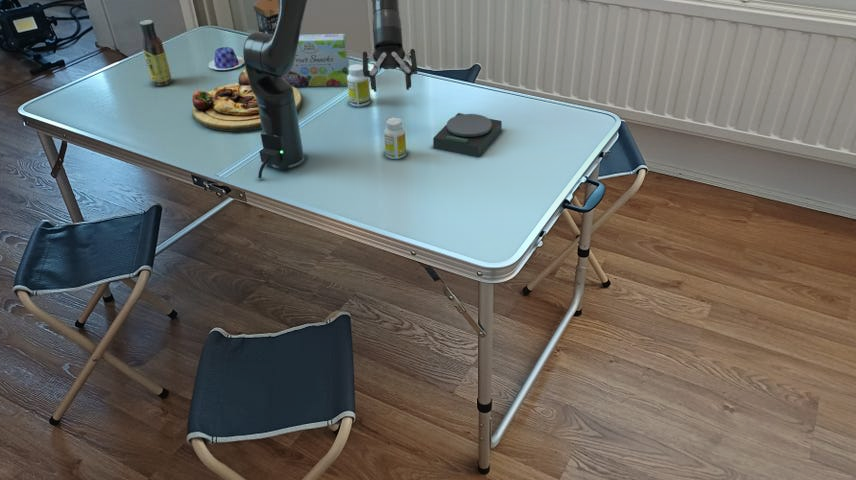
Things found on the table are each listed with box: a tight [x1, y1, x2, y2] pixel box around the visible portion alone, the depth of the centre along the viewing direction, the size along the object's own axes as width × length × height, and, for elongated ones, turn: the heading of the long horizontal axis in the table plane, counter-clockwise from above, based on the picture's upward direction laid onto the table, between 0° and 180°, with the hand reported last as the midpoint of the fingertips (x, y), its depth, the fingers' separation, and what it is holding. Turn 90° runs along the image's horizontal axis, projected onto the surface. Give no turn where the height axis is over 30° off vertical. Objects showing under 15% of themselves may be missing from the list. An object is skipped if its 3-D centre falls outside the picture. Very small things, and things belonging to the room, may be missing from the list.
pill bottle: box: [347, 63, 371, 108], centre depth 213 cm, size 6×6×11 cm
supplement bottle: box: [383, 117, 407, 160], centre depth 187 cm, size 5×5×10 cm
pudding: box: [208, 46, 245, 71], centre depth 242 cm, size 12×12×5 cm
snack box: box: [282, 33, 350, 88], centre depth 224 cm, size 21×6×15 cm, turn 90°
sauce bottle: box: [139, 19, 172, 87], centre depth 227 cm, size 7×6×20 cm
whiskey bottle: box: [252, 0, 279, 35], centre depth 233 cm, size 10×10×32 cm
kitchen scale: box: [432, 112, 503, 158], centre depth 194 cm, size 16×13×4 cm
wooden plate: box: [191, 69, 303, 132], centre depth 213 cm, size 32×32×8 cm
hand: (391, 89), depth 190 cm, fingers open, 8 cm apart
